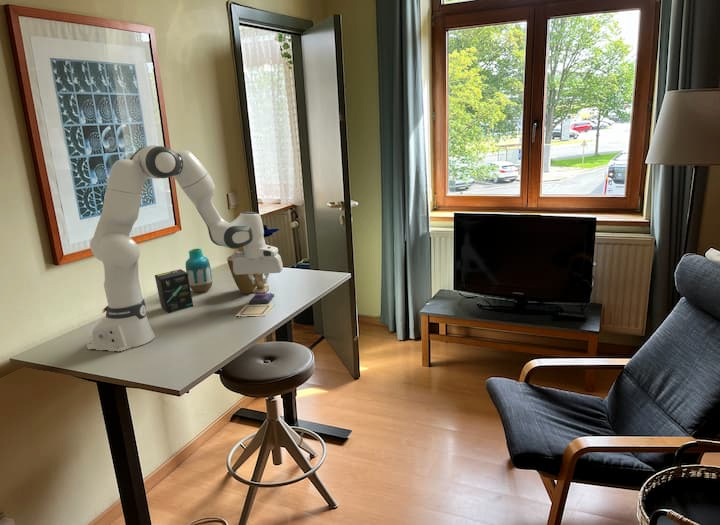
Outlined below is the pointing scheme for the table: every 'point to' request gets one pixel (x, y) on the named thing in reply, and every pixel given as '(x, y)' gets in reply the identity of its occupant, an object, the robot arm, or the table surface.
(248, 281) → the plant pot
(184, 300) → the tampon box
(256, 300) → the ink pad
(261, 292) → the stamp
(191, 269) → the vase
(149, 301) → the table surface
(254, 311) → the sheet
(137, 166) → the robot arm
